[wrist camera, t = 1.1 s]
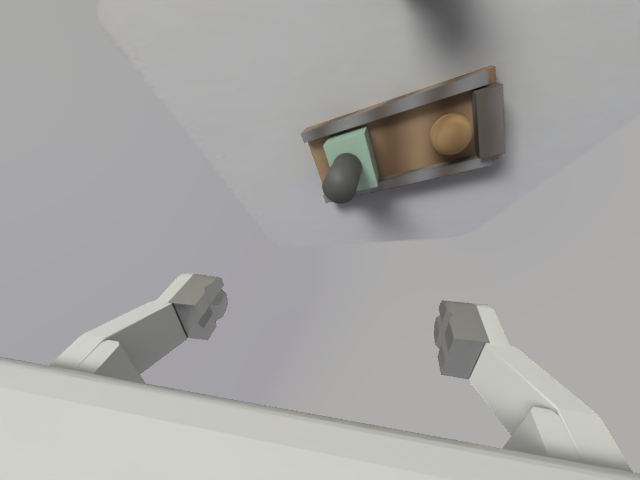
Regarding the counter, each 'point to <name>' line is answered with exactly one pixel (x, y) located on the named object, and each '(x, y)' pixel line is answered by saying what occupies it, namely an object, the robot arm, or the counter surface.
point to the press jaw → (349, 165)
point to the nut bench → (422, 130)
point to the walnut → (451, 134)
